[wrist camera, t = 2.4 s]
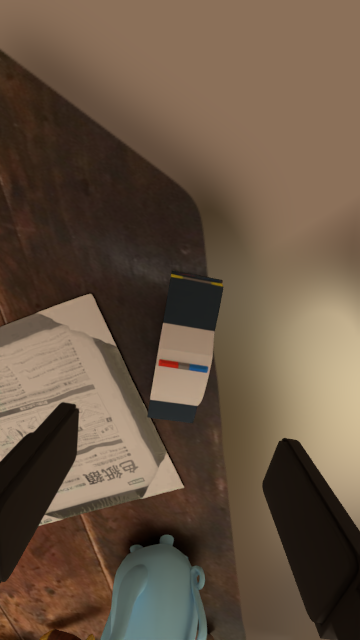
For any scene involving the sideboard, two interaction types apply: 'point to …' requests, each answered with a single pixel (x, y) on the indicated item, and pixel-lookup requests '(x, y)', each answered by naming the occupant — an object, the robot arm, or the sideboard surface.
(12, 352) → the picture frame
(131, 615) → the teapot
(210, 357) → the toy car
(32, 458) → the robot arm
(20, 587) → the sideboard surface
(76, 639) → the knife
